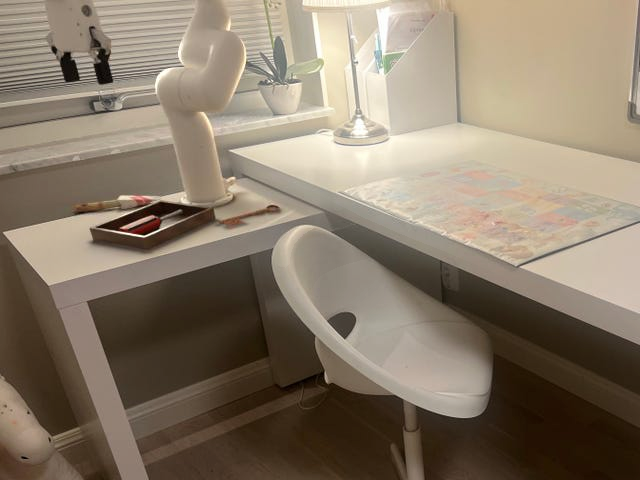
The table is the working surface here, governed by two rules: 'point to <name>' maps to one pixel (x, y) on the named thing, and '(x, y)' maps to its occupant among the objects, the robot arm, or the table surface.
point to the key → (237, 218)
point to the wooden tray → (167, 231)
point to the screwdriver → (146, 224)
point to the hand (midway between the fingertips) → (89, 82)
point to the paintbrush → (118, 203)
